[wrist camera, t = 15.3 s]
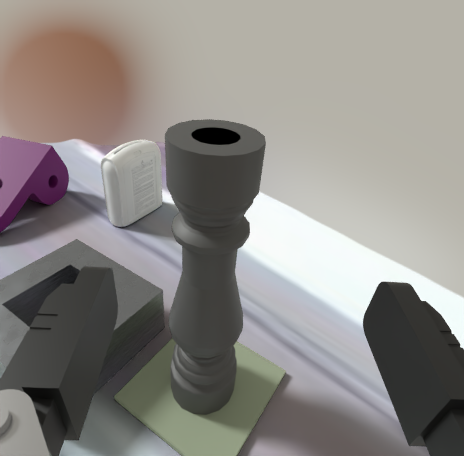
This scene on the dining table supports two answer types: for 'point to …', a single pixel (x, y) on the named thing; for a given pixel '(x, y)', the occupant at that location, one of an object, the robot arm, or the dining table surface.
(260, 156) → the candle holder
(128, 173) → the photo printer
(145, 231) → the dining table surface
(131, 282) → the socket block
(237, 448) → the mat
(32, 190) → the mounting bracket
